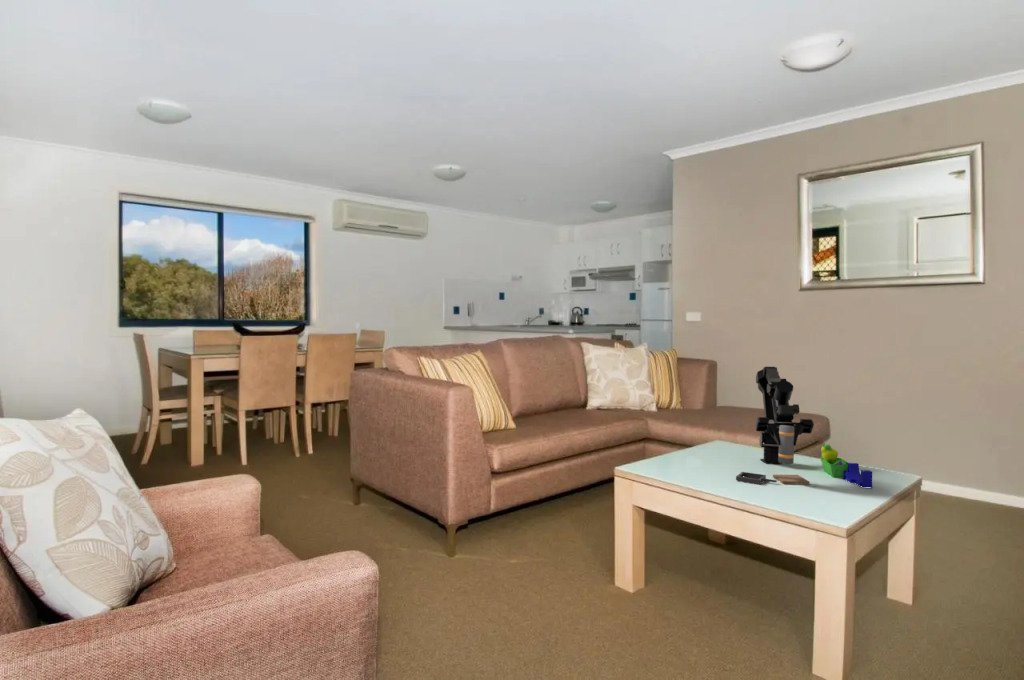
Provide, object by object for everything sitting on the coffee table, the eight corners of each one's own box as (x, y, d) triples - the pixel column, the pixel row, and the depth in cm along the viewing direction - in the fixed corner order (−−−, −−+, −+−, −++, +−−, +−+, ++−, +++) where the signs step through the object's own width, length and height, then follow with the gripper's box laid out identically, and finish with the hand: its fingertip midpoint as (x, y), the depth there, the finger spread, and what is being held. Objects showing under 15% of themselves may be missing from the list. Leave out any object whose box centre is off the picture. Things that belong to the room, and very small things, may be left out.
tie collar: (742, 475, 214) (742, 471, 214) (778, 481, 207) (778, 477, 207) (736, 480, 208) (736, 476, 208) (773, 486, 200) (773, 482, 200)
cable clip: (843, 479, 211) (843, 462, 211) (856, 479, 211) (856, 463, 210) (857, 488, 199) (858, 471, 199) (872, 488, 199) (872, 471, 198)
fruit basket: (853, 479, 211) (853, 448, 210) (826, 477, 212) (827, 447, 212) (840, 471, 222) (840, 441, 222) (815, 470, 223) (816, 441, 223)
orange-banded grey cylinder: (775, 461, 209) (776, 425, 209) (786, 460, 211) (786, 424, 210) (785, 464, 205) (786, 428, 204) (796, 463, 206) (797, 427, 206)
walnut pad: (772, 477, 213) (772, 474, 213) (797, 477, 212) (797, 474, 212) (783, 484, 204) (783, 481, 204) (809, 484, 203) (809, 481, 203)
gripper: (757, 395, 213) (761, 430, 203) (813, 396, 208) (820, 433, 198) (753, 413, 221) (757, 448, 211) (807, 415, 216) (814, 451, 206)
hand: (787, 444), depth 206 cm, fingers closed on orange-banded grey cylinder, 5 cm apart
